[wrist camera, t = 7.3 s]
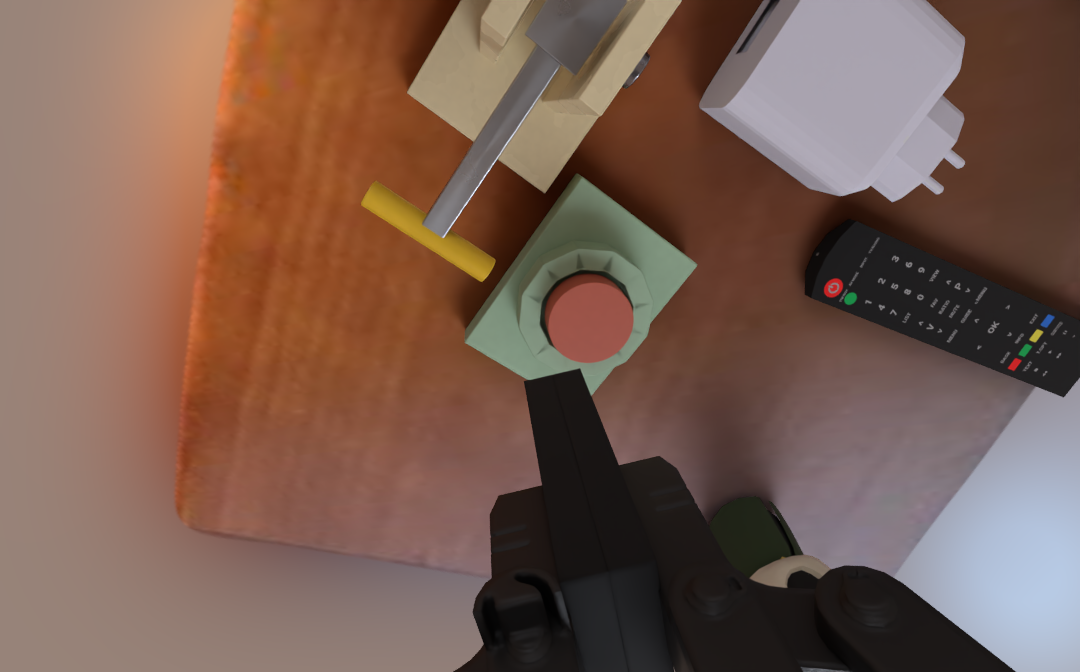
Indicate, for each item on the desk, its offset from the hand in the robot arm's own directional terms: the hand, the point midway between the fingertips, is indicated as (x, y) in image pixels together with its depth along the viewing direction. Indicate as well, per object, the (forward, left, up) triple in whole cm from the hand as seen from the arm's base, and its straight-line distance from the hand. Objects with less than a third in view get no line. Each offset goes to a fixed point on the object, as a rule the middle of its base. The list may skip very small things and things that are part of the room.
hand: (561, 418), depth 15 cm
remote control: (-14, +28, -21) cm, 37 cm away
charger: (-18, +11, -21) cm, 29 cm away
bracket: (-10, -5, -20) cm, 23 cm away
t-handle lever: (-5, -5, -11) cm, 14 cm away
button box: (0, +5, -20) cm, 21 cm away
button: (0, +5, -17) cm, 18 cm away
